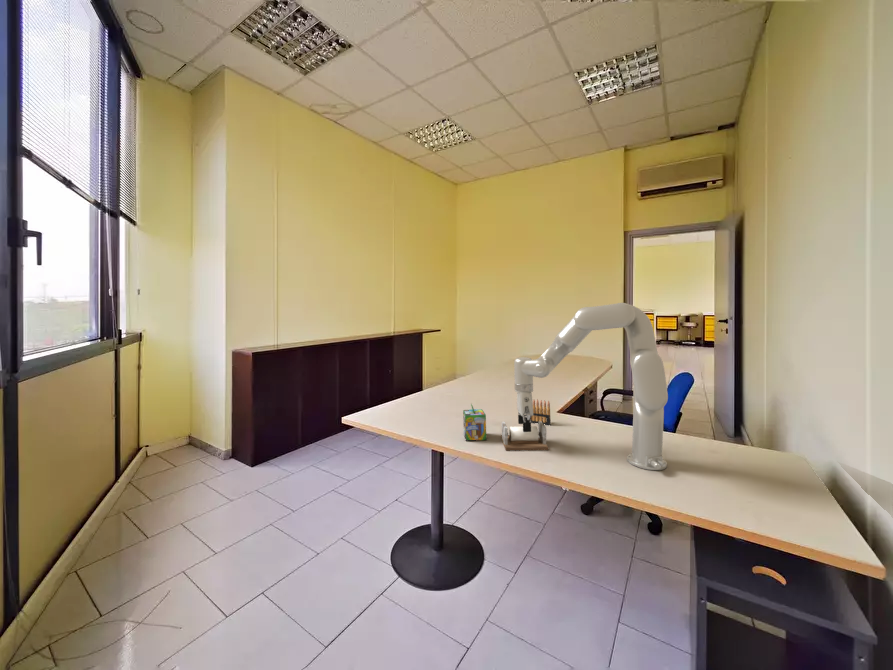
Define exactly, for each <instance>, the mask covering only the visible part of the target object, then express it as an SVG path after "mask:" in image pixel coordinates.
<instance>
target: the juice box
mask: <svg viewBox="0 0 893 670" xmlns="http://www.w3.org/2000/svg"><path fill="white" fill-rule="evenodd" d="M470 406H471V408H470V409H463V410H462V411H463V412H462V413H463V415H462V416H463V418H462V419H463V420H462V421H463V436H464V439H466V440H476V441H487V415H486V413H485V411H484V410H483V409H481V408H479V409H477V408H476V409H475V408H474V406H473V403H470ZM466 440H465V441H466Z"/></svg>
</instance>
